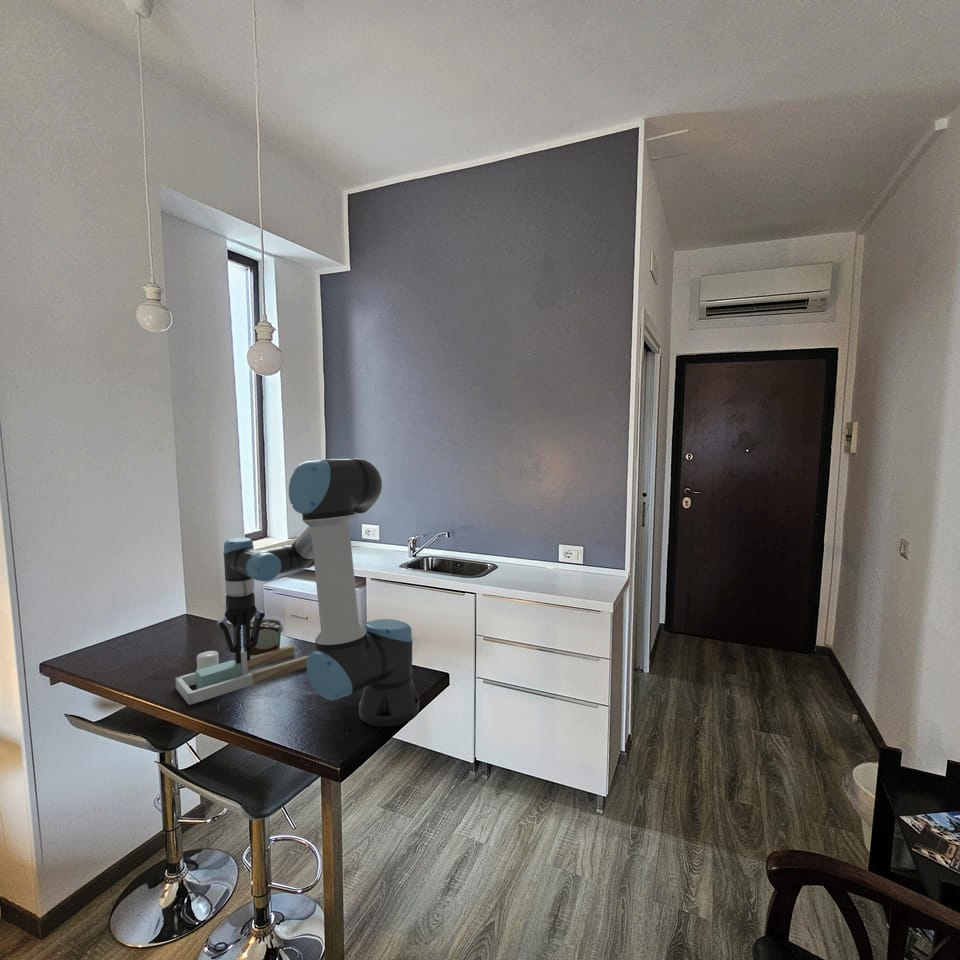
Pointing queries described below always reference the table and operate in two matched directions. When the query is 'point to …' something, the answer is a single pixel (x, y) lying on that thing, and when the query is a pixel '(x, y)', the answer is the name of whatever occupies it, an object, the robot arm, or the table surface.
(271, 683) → the table surface
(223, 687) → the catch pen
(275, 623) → the food container
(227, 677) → the pale teal block
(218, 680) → the pale teal cube
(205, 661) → the white rounded capsule
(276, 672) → the guide channel
